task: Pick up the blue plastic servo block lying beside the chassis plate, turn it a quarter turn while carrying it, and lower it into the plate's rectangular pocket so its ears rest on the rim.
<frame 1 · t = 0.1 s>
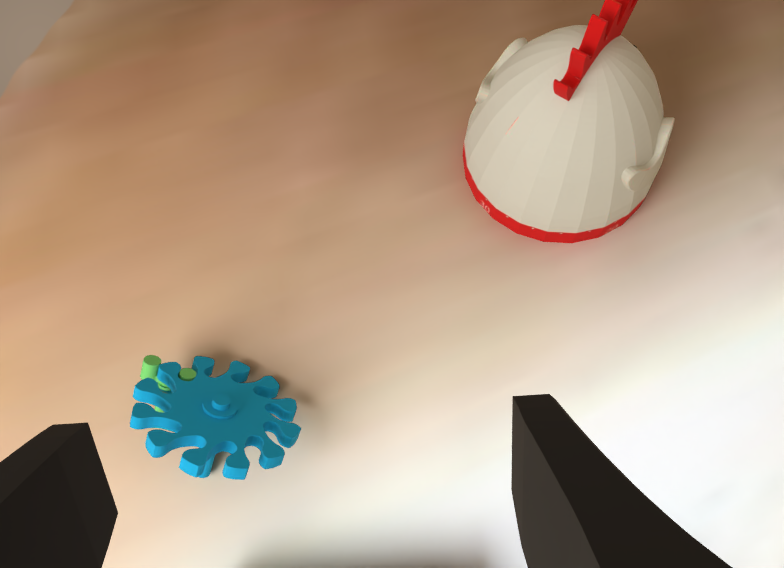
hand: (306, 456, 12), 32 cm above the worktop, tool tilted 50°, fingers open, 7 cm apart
gear: (228, 421, 44), on the worktop
white and red dome: (555, 161, 51), on the worktop
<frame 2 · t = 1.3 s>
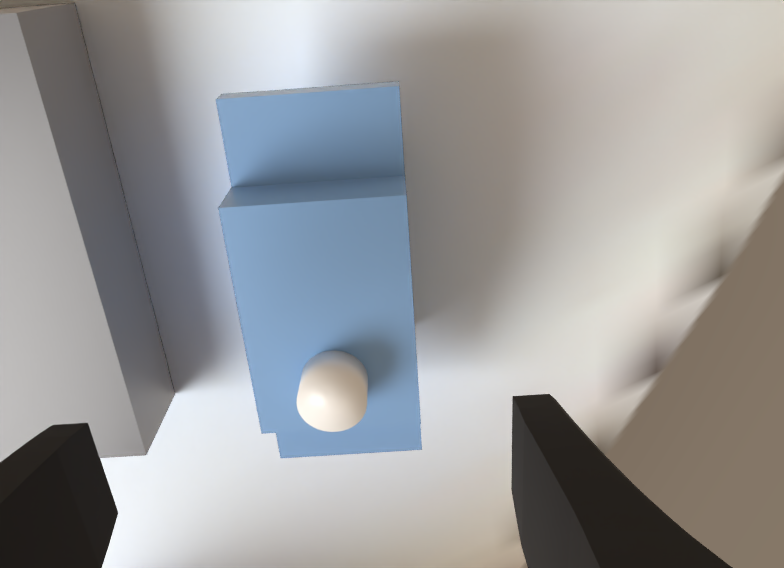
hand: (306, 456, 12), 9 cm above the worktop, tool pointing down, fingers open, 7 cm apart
servo: (340, 241, 20), on the worktop
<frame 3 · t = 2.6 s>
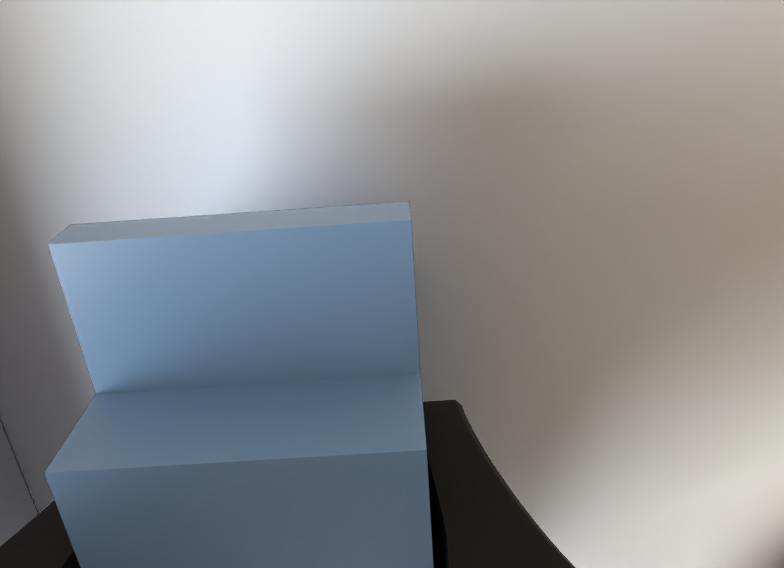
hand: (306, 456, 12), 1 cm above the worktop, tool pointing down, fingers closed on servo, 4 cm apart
servo: (314, 405, 13), on the worktop, touching gripper
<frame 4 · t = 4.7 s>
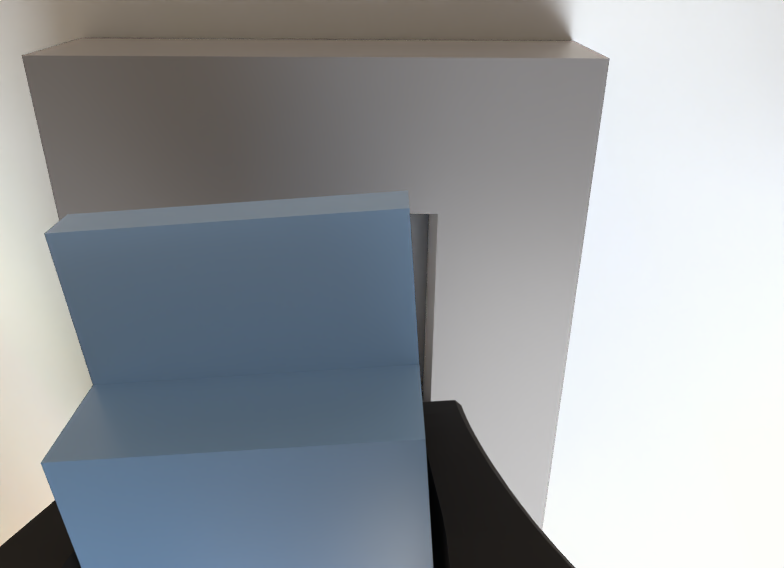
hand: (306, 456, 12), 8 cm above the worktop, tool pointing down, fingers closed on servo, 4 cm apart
servo: (313, 399, 13), point 7 cm above the worktop, touching gripper
chassis: (336, 294, 20), on the worktop
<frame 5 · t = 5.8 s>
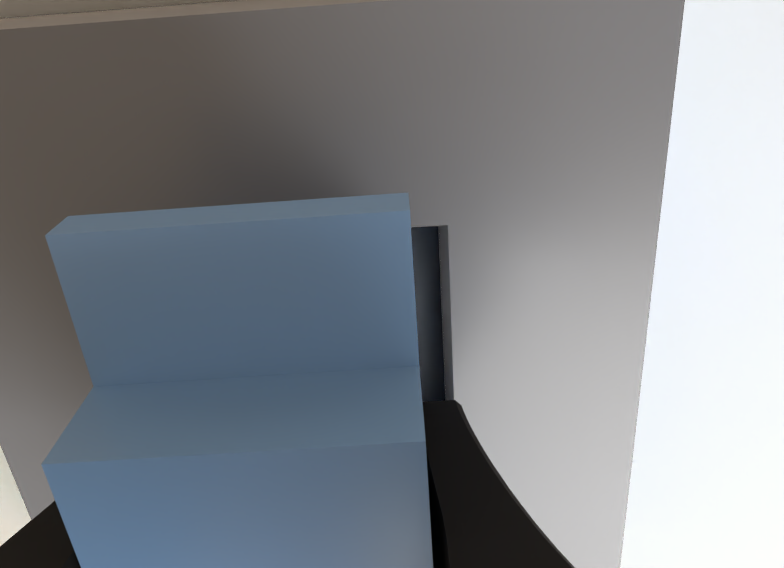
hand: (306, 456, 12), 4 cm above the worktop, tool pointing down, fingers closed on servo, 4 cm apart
servo: (313, 400, 13), point 3 cm above the worktop, touching gripper
chassis: (326, 332, 15), on the worktop
when the fingers open (3 cm above the worktop, at t = 6.8 s): servo drops 2 cm, resting on chassis.
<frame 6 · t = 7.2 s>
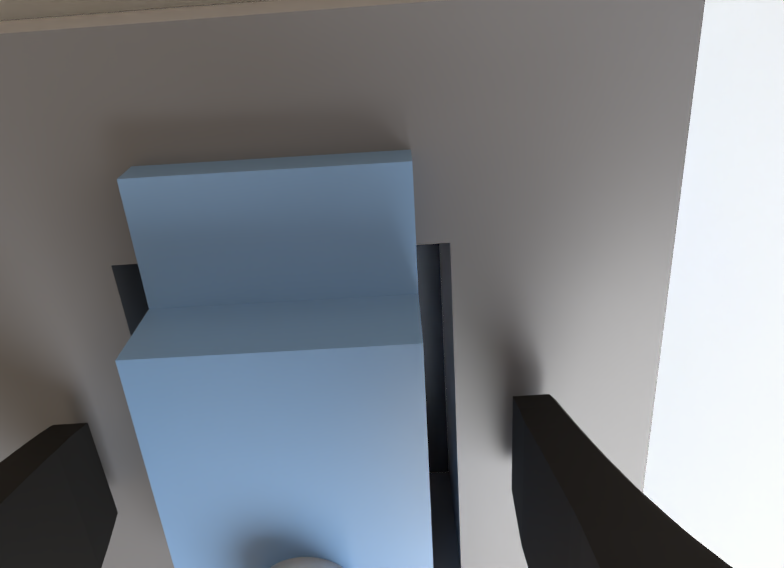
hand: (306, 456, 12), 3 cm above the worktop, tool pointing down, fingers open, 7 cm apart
servo: (324, 346, 15), resting on chassis
chassis: (322, 350, 15), on the worktop
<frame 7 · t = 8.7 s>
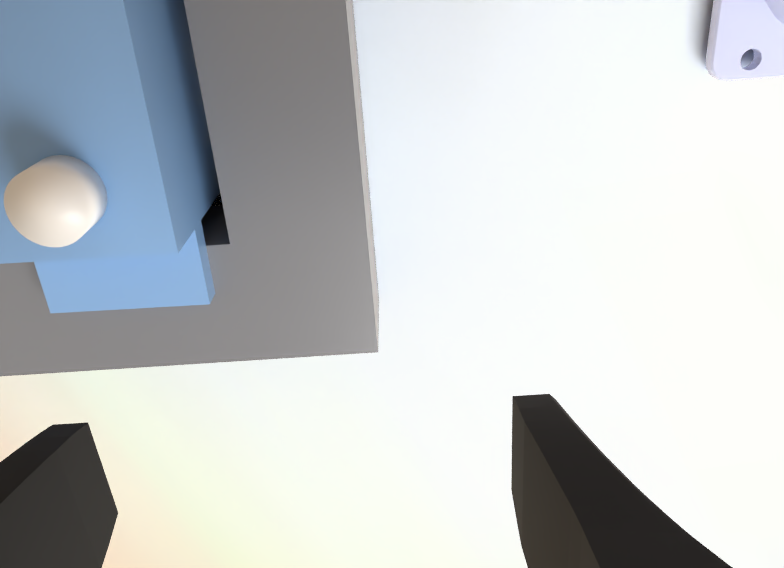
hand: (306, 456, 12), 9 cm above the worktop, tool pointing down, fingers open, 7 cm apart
servo: (132, 77, 18), resting on chassis
chassis: (131, 81, 18), on the worktop
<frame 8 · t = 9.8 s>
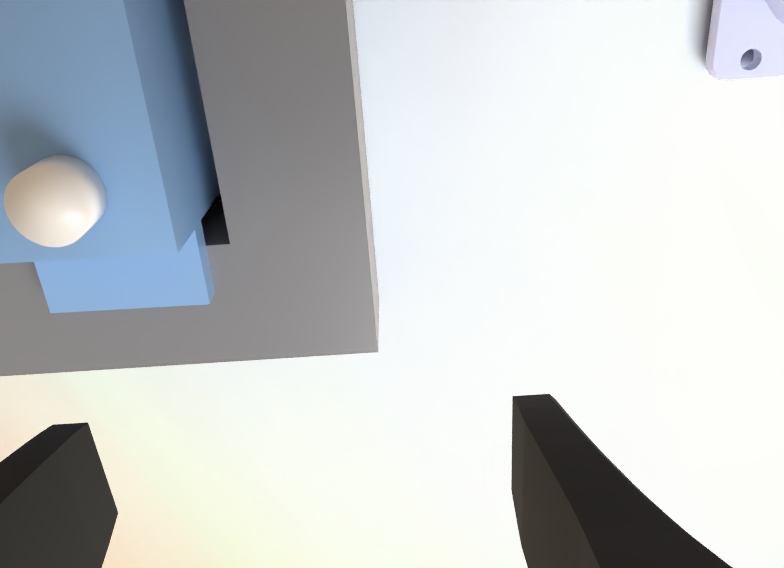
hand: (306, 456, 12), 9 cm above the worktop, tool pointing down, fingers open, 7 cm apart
servo: (132, 77, 18), resting on chassis
chassis: (131, 80, 18), on the worktop
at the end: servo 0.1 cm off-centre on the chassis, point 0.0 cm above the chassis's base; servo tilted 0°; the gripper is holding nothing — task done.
